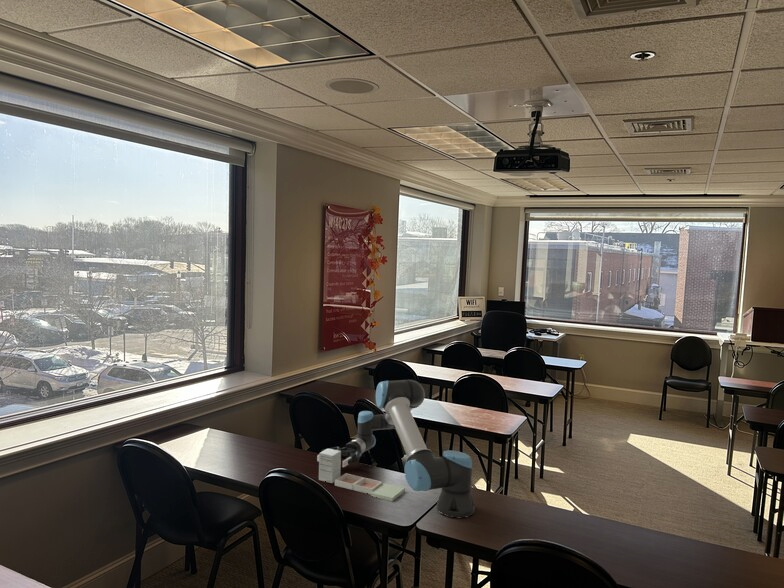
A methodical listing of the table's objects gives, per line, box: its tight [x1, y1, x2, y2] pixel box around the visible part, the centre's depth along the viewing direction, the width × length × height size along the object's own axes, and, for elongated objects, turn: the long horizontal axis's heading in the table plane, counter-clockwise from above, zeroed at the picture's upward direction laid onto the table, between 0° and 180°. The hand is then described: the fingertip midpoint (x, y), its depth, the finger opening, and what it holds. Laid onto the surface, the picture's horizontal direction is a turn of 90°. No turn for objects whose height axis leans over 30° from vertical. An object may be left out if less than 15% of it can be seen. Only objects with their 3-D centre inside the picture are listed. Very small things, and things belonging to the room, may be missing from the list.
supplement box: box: [318, 448, 342, 484], centre depth 249 cm, size 7×7×13 cm
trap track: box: [334, 473, 406, 502], centre depth 240 cm, size 29×12×2 cm, turn 63°
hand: (330, 461), depth 250 cm, fingers open, 13 cm apart
